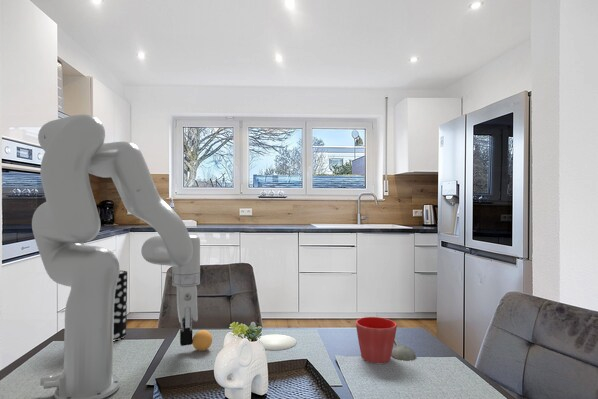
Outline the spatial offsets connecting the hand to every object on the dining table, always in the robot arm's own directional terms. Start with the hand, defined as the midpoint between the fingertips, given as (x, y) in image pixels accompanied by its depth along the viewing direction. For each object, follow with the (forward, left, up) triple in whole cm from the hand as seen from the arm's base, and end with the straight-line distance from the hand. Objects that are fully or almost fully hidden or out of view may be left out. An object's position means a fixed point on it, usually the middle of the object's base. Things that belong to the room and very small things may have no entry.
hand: (186, 344), depth 107 cm
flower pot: (+49, -21, -2) cm, 53 cm away
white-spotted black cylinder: (-21, +18, -2) cm, 28 cm away
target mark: (+26, -1, -2) cm, 26 cm away
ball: (+4, 0, +1) cm, 4 cm away
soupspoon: (+59, -15, -3) cm, 61 cm away
